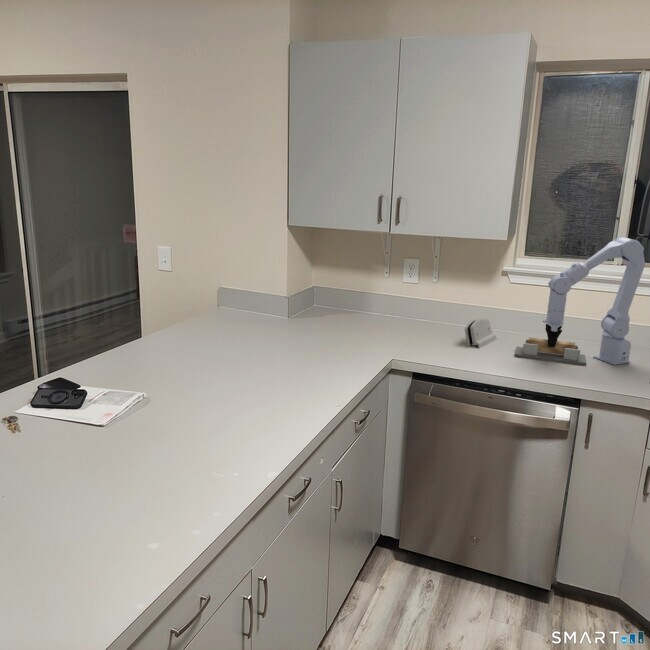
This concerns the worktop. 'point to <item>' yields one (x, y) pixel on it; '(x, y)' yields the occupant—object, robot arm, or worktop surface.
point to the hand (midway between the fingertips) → (551, 345)
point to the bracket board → (551, 354)
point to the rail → (557, 349)
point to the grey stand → (479, 333)
